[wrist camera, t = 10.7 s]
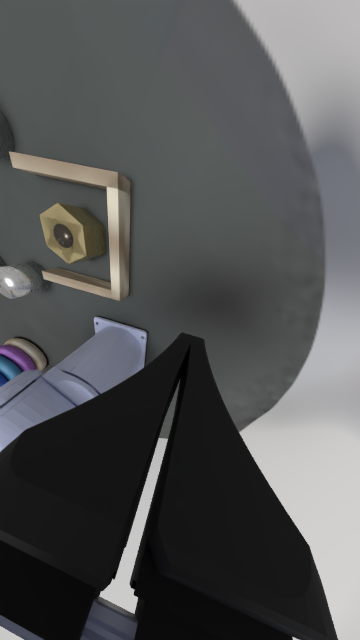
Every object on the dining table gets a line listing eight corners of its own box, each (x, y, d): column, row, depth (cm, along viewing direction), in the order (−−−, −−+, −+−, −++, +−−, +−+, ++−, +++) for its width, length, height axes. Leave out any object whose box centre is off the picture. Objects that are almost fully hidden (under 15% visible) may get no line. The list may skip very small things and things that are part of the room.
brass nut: (106, 264, 18) (87, 269, 15) (73, 255, 18) (49, 258, 16) (103, 212, 15) (79, 207, 13) (65, 203, 16) (34, 197, 13)
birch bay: (128, 295, 19) (119, 300, 17) (58, 275, 20) (43, 279, 19) (130, 180, 14) (117, 172, 12) (33, 161, 15) (8, 151, 13)
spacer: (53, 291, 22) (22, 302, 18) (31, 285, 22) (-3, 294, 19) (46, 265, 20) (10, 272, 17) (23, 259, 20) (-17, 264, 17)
